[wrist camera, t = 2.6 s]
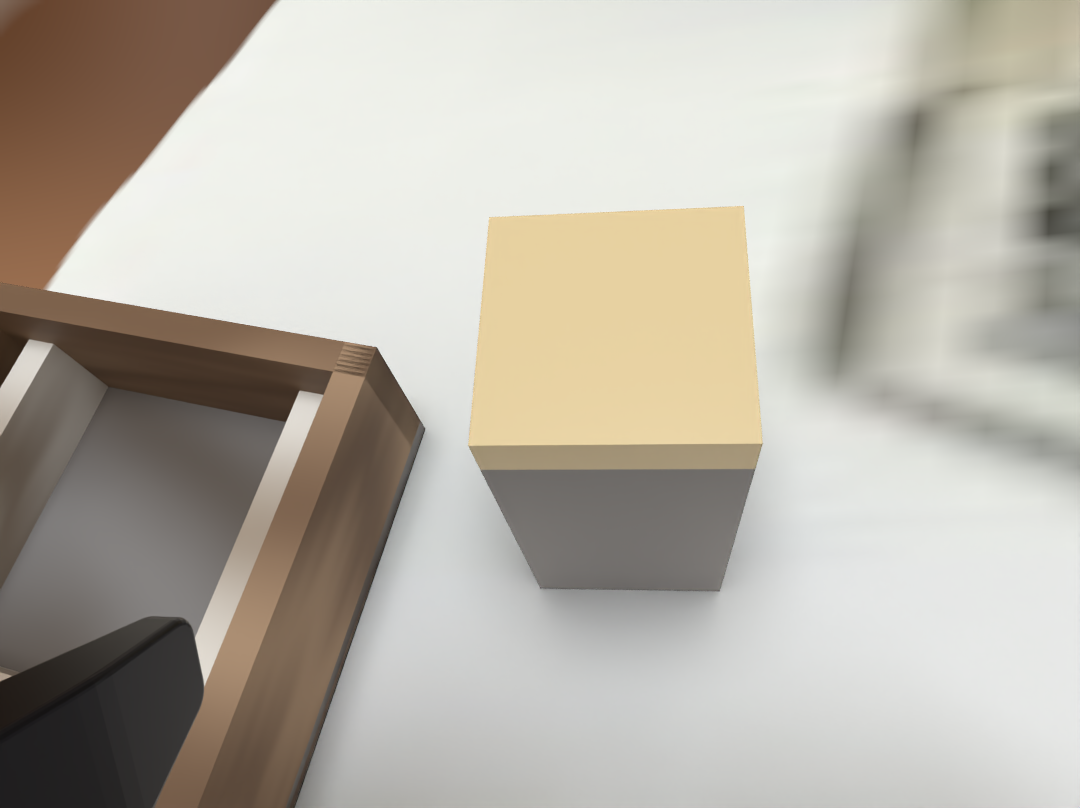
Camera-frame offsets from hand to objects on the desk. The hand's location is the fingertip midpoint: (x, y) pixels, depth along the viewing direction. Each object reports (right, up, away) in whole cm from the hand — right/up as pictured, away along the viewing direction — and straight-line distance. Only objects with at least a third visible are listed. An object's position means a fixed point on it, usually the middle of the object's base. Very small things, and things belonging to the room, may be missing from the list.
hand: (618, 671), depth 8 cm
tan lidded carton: (+2, 0, +13) cm, 13 cm away
